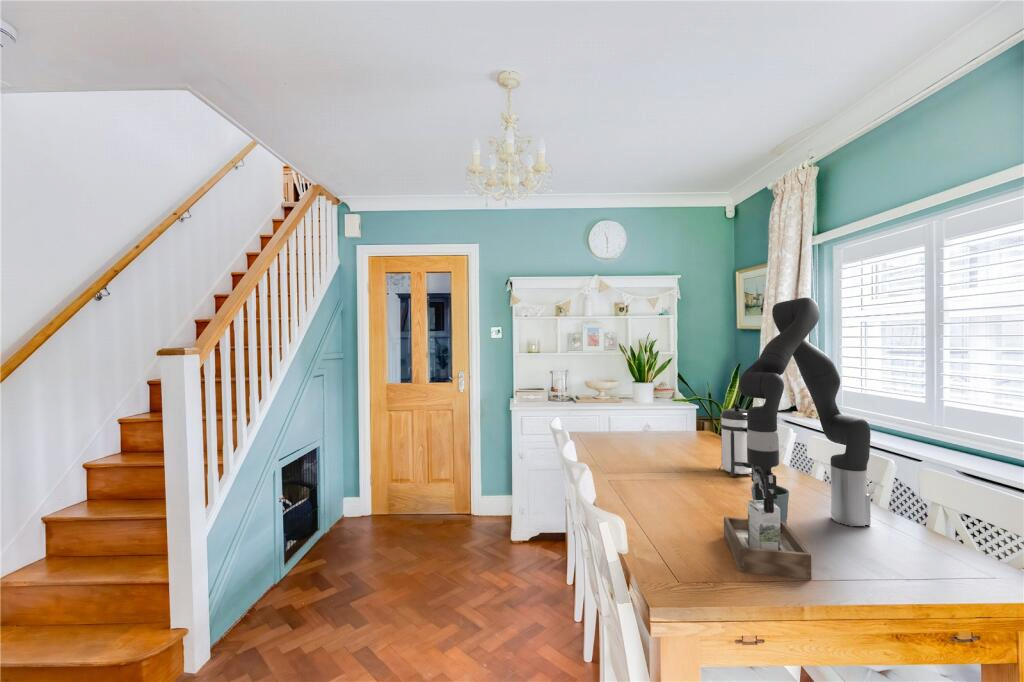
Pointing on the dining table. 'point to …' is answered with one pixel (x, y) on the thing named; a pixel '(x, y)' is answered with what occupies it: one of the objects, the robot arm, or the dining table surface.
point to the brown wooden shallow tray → (767, 552)
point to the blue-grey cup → (778, 501)
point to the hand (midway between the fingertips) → (764, 506)
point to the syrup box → (763, 526)
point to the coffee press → (734, 441)
